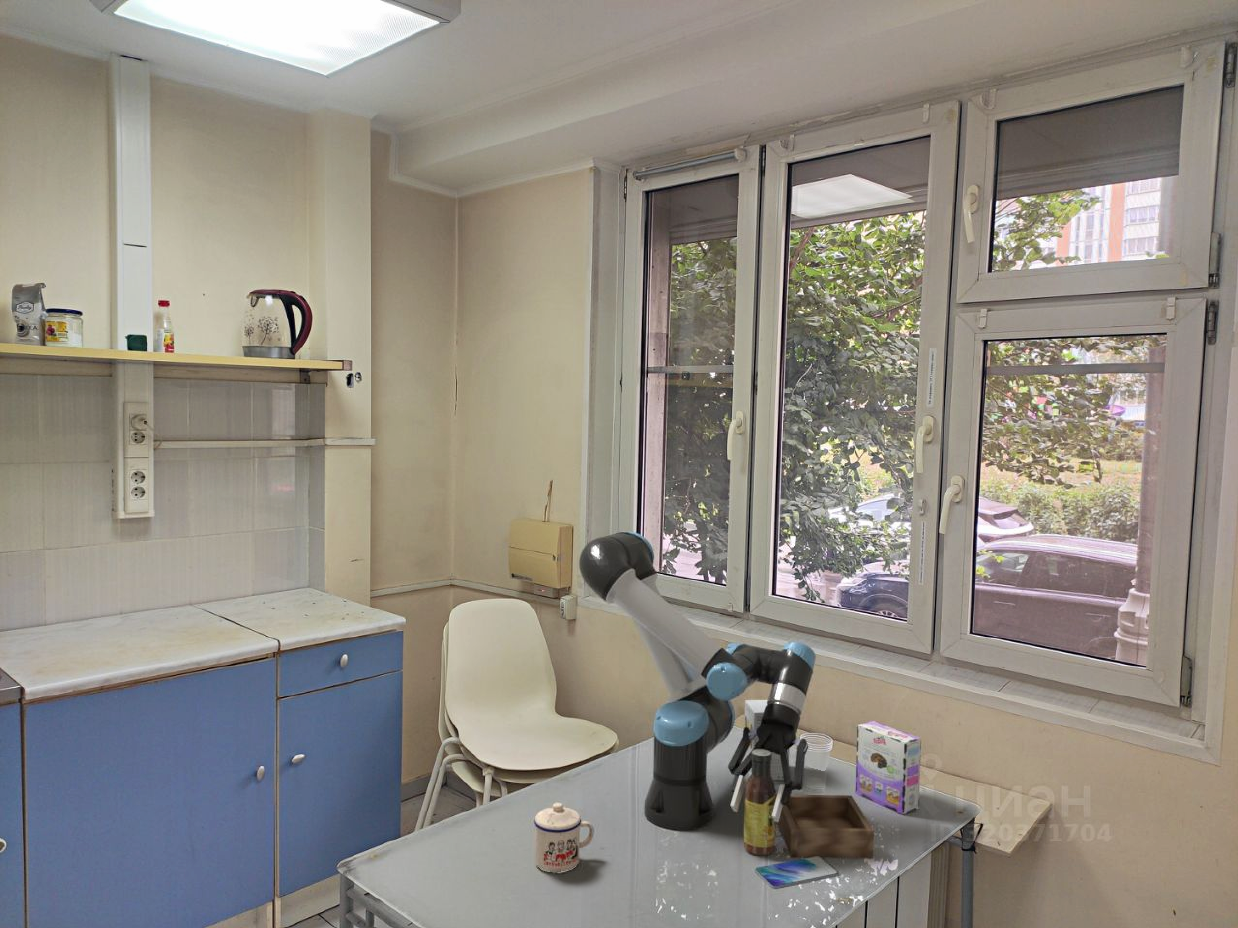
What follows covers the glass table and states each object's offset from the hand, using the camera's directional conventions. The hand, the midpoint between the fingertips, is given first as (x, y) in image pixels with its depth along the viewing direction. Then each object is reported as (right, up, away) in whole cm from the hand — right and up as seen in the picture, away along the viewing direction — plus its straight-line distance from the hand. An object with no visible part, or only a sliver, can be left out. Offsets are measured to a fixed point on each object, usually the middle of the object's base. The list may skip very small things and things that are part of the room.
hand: (754, 813), depth 176 cm
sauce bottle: (+2, -9, +3) cm, 9 cm away
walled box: (+15, -8, +9) cm, 20 cm away
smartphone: (+7, -10, -5) cm, 13 cm away
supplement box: (+9, -6, +42) cm, 43 cm away
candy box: (+34, -8, +27) cm, 44 cm away
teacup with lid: (-37, -8, -3) cm, 38 cm away
